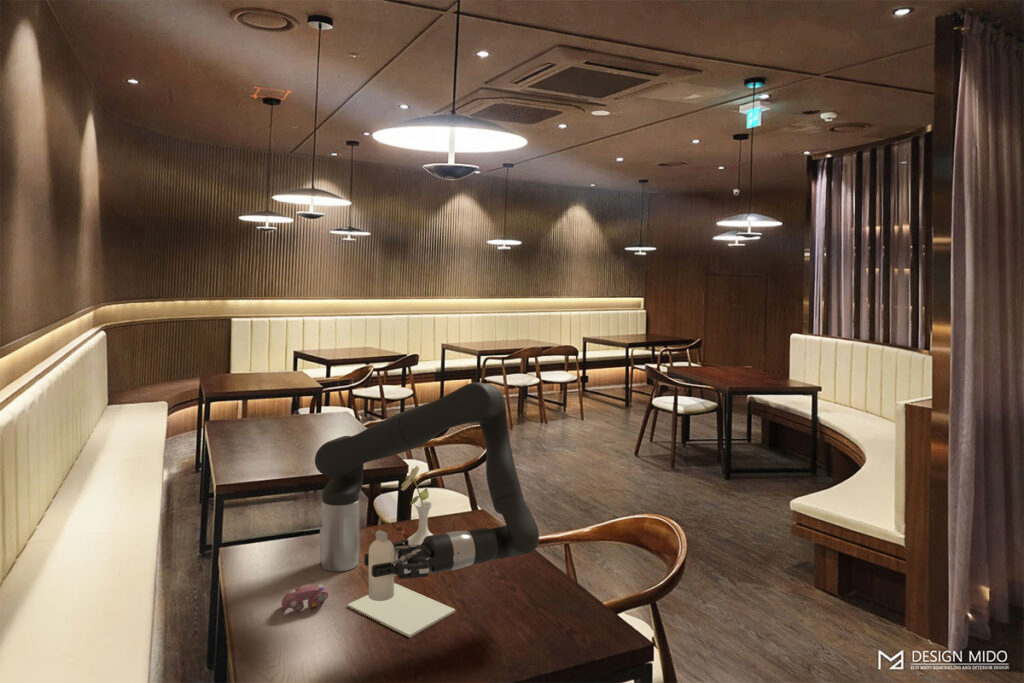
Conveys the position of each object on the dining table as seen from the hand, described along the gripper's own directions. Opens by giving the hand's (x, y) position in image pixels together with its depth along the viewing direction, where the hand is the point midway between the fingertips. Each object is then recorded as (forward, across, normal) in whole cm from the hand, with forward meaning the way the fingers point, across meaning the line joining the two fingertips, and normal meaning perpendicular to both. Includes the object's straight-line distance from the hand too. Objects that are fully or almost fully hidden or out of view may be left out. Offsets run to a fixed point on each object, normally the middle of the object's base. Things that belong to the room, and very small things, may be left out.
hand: (368, 565), depth 128 cm
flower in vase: (-25, -40, +18) cm, 51 cm away
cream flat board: (-11, -14, +18) cm, 25 cm away
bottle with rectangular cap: (-3, 0, +6) cm, 7 cm away
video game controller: (+8, -23, +18) cm, 30 cm away
